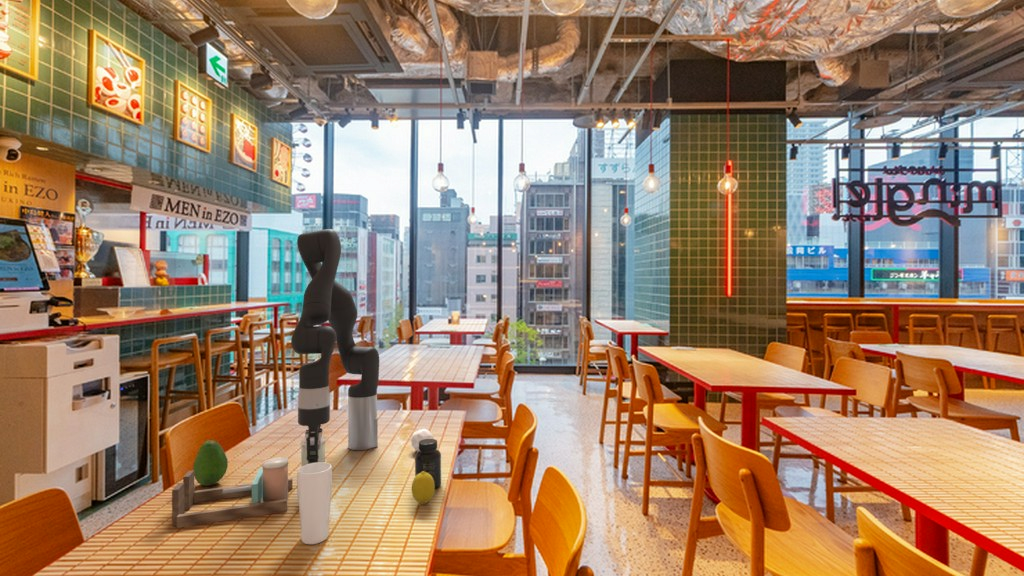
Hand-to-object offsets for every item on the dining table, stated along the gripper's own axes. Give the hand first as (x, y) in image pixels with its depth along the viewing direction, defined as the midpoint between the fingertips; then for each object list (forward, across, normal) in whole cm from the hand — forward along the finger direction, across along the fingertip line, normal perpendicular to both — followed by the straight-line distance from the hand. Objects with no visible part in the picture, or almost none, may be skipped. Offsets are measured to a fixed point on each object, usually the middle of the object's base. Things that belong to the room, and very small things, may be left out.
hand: (313, 470), depth 120 cm
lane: (+6, 0, +17) cm, 18 cm away
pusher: (+6, 0, +17) cm, 18 cm away
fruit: (+7, +17, +27) cm, 32 cm away
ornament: (+6, +23, -31) cm, 40 cm away
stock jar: (+6, 0, +9) cm, 11 cm away
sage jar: (+2, 0, 0) cm, 2 cm away
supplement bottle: (+6, -5, -28) cm, 30 cm away
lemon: (+7, -15, -26) cm, 30 cm away
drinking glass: (+7, -23, -2) cm, 24 cm away
